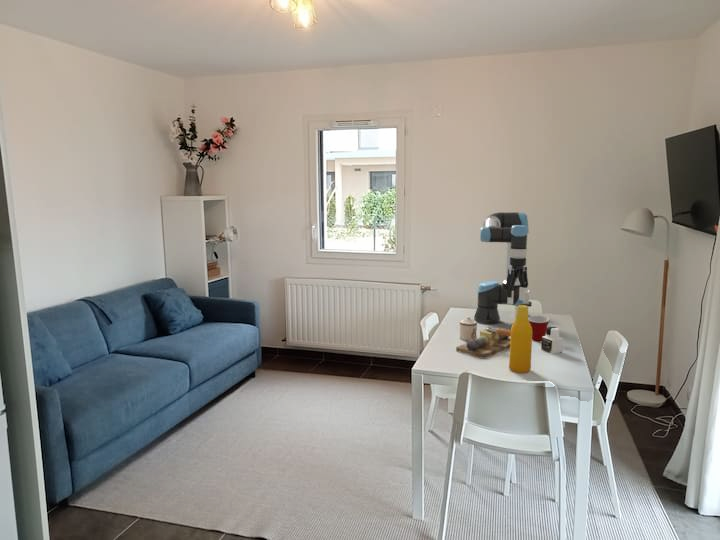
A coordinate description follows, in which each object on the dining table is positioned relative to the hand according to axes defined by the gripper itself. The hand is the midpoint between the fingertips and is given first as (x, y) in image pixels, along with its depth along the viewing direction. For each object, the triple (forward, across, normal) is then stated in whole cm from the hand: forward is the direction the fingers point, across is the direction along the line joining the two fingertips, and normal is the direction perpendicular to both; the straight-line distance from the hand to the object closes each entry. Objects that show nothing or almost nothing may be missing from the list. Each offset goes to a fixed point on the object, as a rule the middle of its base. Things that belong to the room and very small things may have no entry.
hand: (516, 302), depth 270 cm
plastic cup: (+24, -22, +1) cm, 32 cm away
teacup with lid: (+24, 0, -27) cm, 36 cm away
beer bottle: (+24, +25, +18) cm, 39 cm away
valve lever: (+15, +7, -4) cm, 17 cm away
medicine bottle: (+24, -10, +15) cm, 30 cm away
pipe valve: (+24, +7, -10) cm, 27 cm away
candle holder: (+24, -62, -32) cm, 74 cm away
